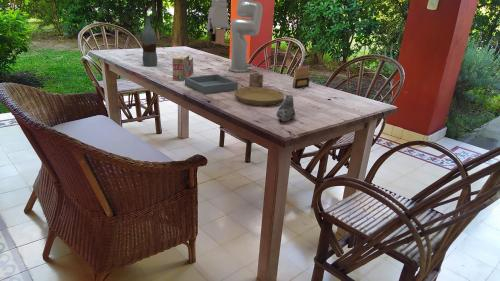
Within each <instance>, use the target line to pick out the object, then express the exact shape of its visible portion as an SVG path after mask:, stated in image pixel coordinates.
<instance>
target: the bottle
mask: <svg viewBox="0 0 500 281" xmlns="http://www.w3.org/2000/svg"><path fill="white" fill-rule="evenodd" d="M140 36H141V45H142V63H143V66H144V67H149V68H151V67H153V68H154V67H157V65H158V55H157V34H156V31H155V30H154V29H153V27H152V25H151V16H150V15H145V27H144V28H143V29H142V31H141V35H140Z"/></svg>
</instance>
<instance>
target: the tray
mask: <svg viewBox="0 0 500 281" xmlns="http://www.w3.org/2000/svg"><path fill="white" fill-rule="evenodd" d="M184 86H186V87H188V88H190V89H192V90H194V91H196V92H198V93H200V94H203V95H210V94H211V95H212V94H217V93H224V92H230V91H231V92H233V91H236V90H238V89H239V82H238V81H236V80H234V79H231V78H229V77H226V76H223V75H220V74H219V73H218V74H217V73H215V74H205V75H198V76H197V75H196V76H189V77H186V78H185V80H184Z"/></svg>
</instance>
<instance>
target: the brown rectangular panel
mask: <svg viewBox="0 0 500 281" xmlns="http://www.w3.org/2000/svg"><path fill="white" fill-rule="evenodd" d="M309 84H310V64H308V65H301V66H300V65H298V66H296V67H295V72H294V78H293V82H292V88H293V89H302V88H306V87H309V86H310V85H309Z"/></svg>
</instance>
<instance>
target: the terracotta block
mask: <svg viewBox="0 0 500 281" xmlns="http://www.w3.org/2000/svg"><path fill="white" fill-rule="evenodd" d="M215 34H216V39H215V42H213V41H211V40H210V41H211V42H210V43H213V44H216V45H217V44H225V41H226V40H225V39H226V34H225V30H224V29H221V28H216V30H215ZM224 40H225V41H224Z"/></svg>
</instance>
